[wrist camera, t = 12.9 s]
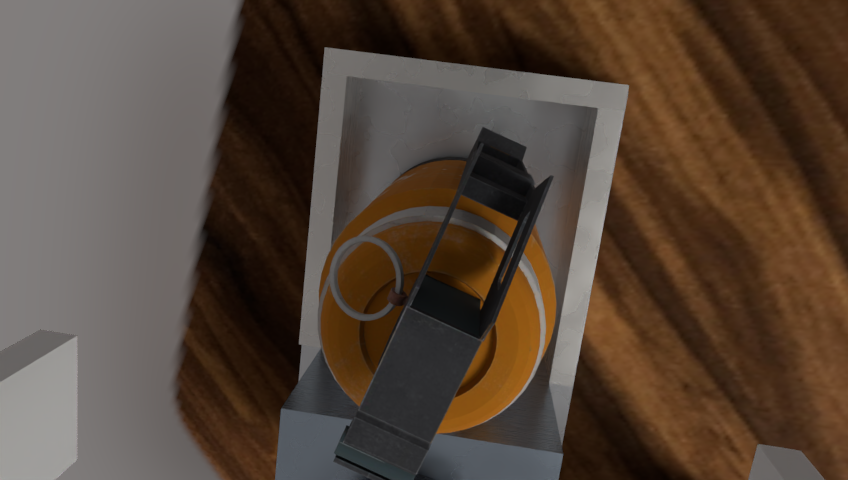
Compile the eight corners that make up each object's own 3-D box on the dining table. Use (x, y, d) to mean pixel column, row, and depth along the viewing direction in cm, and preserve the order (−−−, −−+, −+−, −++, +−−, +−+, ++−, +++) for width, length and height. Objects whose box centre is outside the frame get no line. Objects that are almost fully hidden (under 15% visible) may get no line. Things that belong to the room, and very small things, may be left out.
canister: (349, 272, 39) (208, 454, 19) (428, 92, 36) (356, 93, 17) (491, 338, 39) (493, 585, 19) (580, 162, 36) (685, 244, 17)
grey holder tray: (332, 51, 37) (240, 28, 24) (624, 87, 36) (707, 85, 23) (294, 473, 43) (203, 651, 30) (545, 515, 42) (571, 721, 28)
